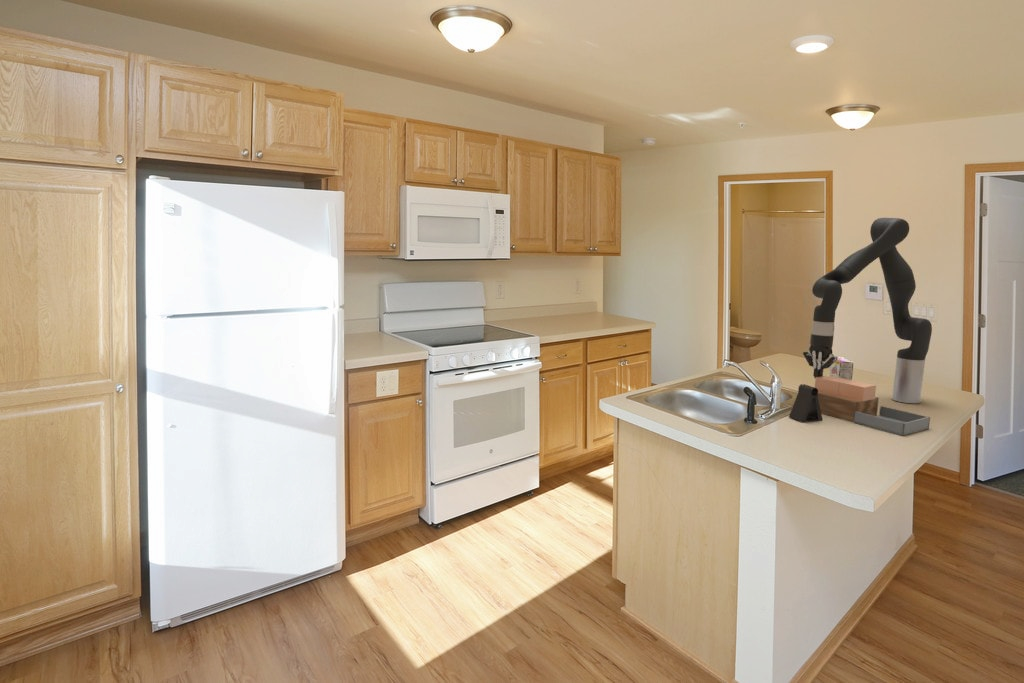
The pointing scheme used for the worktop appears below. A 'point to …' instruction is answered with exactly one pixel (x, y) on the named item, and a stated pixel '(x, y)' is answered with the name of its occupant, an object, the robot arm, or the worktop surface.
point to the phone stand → (806, 405)
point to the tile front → (857, 390)
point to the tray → (894, 421)
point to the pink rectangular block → (828, 384)
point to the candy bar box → (842, 368)
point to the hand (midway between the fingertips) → (817, 378)
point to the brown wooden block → (845, 406)
